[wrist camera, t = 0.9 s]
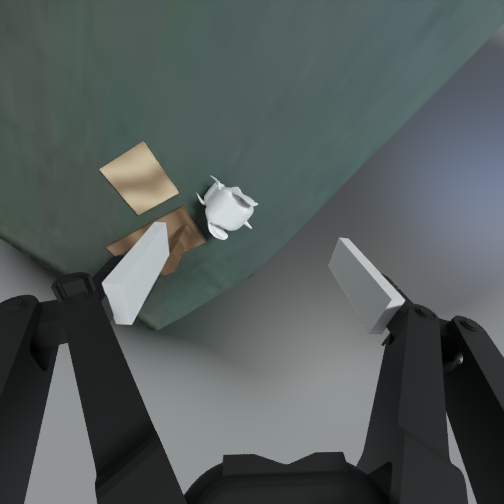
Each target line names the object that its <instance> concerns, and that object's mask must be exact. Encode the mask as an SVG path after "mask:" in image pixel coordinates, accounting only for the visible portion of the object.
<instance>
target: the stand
mask: <svg viewBox="0 0 504 504" xmlns="http://www.w3.org/2000/svg"><path fill="white" fill-rule="evenodd" d="M154 222H165V223H166V227H167V236H168V245H169V254H170V255H169V257H168V258H167V260H166V262H165V264H164V266H163V268H162V270H161V271H160V273H162V274H163V275H164V276H166V275H168V274H170V273H172V272H174V271H175V269H176V267H177V265H178V263H179V261H180V258H181V256H182V254H183V253H184V252H186V251H188V250H191V249H193V248H195V247H197V246H199V245H201V244H203V243H205V242H206V238H205V237H204V235H203V234H202V233H201V231H200V230H199V228H198V227H197V226H196V224H195V223H194V221H193V220H192V218H191V217H190V216H189V214H188V213H187V211H186V210H185V209H184V207H183V206H181V207H179V208H177V209H175V210H173V211H171V212H170V213H168V214H166V215H164V216H162V217H160V218H158V219H156V220H155V221H153V222H151V223H149V224H147V225H145V226H143V227H142V228H140V229H138V230H136V231H134V232H132V233H130V234H128V235H127V236H125V237H123V238H121V239H119V240H117V241H115V242H114V243H112V244H110V245H108V246H107V247H106V248H107V249H108V250H109V251H110V252H111V253H112V254H113V255H114V256H117V255H122V254H123V253H124V252H125V251H127V250H129V249H131V248H132V247H133V246H134V245H135V244H136V243H137V242H138V241H139V239H140V238H141V237H142V236H143V235H144V234H145V232H146V231H147V230H148V229H149V228H150V227H151V226H152V224H153V223H154ZM160 273H159V274H160Z"/></svg>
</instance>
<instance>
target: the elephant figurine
mask: <svg viewBox="0 0 504 504" xmlns="http://www.w3.org/2000/svg"><path fill="white" fill-rule="evenodd" d="M211 177H212V176H211ZM212 178H213V179H215V178H214V177H212ZM215 180H216V182H215V183H214V184H213V185H212V186H211V187H210V189H209V190H208V191H207V193H206V194H205V196H204V201H203V200H202V199H201V198H200V197H199V195H198V193H197V195H198V198H199V200H200V202H201V203H202V204H203V205H206V209H205V214H206V217H207V221H208V228H209V231H210V232H211V234H212V235H213V236H215V237H216V238H218V239H221V240H225V239H226V238H227V237H228V235H227V234H226V233H225V231H224V229H226V230H229V231H233V230H237V229H239V228H240V227H241V226H242V225H243V224H245V225H246V226H248V227H250V229H251V228H252V227H251V226H250V225H249V224H248V222H247V220H248V219H249V217H250V216H251V215H252V213H253V206H256V205H258V203H255V202H254V201H253V200H252V199H251V198H249V197H247V196H245V195H244V194H243V193H242V192H241V190H240V189H239V188H238V187H232V188H229V187H224V185H223V184H221V183H220V182H219V181H218V180H217V179H215ZM223 228H224V229H223Z"/></svg>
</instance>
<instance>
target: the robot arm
mask: <svg viewBox="0 0 504 504" xmlns="http://www.w3.org/2000/svg"><path fill="white" fill-rule="evenodd" d="M169 255H170V254H169V245H168V236H167V227H166V223H165V222H154V223H153V224H152V226H151V227H150V228H149V229H148V230H147V231H146V232H145V234H144V235H143V236H142V237H141V238H140V239H139V241H138V242H137V243H136V244H135V245H134V246H133V247H132V249H131V250H130V251H129V252H128V253H127V254H126V255H117V256H115V257H113V258H112V259H110V260H109V261H108V262H107V263H106V264H105V265H104V266H103V267H102V268H101V269H100V271H98V272H97V273H96V274H95V276H94V277H93V278H92V277H91V276H90V275H89V274H88V273H84V272H77V273H72V274H68V275H65V276H62V277H61V278H59V279H57V280H56V281H55V282H54V283H53V284H52V290H53V292H54V294H55V296H56V298H57V300H52V301H45V302H39V301H38V299H37V298H36V297H35V296H32V295H21V296H17V297H13V298H10V299H8V300H5V301H3V302H1V303H0V504H24V501H25V496H26V492H27V487H28V483H29V478H30V474H31V469H32V465H33V460H34V456H35V451H36V447H37V441H38V438H39V433H40V428H41V424H42V419H43V415H44V411H45V406H46V401H47V397H48V392H49V388H50V383H51V379H52V374H53V370H54V365H55V361H56V356H57V352H58V347H59V345H60V344H64V343H68V345H69V350H70V354H71V359H72V363H73V367H74V372H75V377H76V381H77V386H78V390H79V395H80V400H81V404H82V409H83V413H84V418H85V422H86V426H87V431H88V436H89V440H90V445H91V449H92V453H93V458H94V463H95V468H96V476H97V477H96V481H95V491H96V497H97V503H98V504H468V498H467V490H466V483H465V479H464V476H463V474H462V472H461V470H460V469H459V468H457V467H456V466H454V465H453V464H452V463H451V461H450V458H449V447H448V434H447V421H446V412H447V415H448V418H449V421H450V424H451V427H452V430H453V433H454V436H455V439H456V442H457V445H458V448H459V451H460V454H461V457H462V460H463V463H464V466H465V469H466V472H467V475H468V478H469V481H470V484H471V487H472V490H473V493H474V495H475V499H476V502H477V504H504V357H503V356H502V355H501V353H500V352H499V350H498V349H497V347H496V346H495V344H494V343H493V341H492V340H491V338H490V337H489V336H488V334H487V332H486V331H485V330H484V329H483V328H482V327H481V326H480V325H478V324H477V323H476V322H475V321H473V320H471V319H468V318H466V317H463V316H455V317H454V318H453V319H452V320H451V321H447V320H443V319H440V318H438V317H437V315H436V314H435V313H434V312H432V311H431V310H430V309H428V308H426V307H424V306H421V305H418V304H413V303H412V302H411V301H410V300H409V299H408V298H407V296H406V295H404V293H403V292H402V291H401V290H400V289H398V287H397V286H396V285H394V283H393V282H392V281H391V280H390V279H389V278H388V277H387V276H385V275H384V274H382V273H380V272H379V271H378V270H377V269H376V268H375V267H374V266H373V265H372V264H371V263H370V261H369V260H367V258H366V257H365V256H364V255H363V254H362V253H361V252H360V251H359V250H358V249H357V247H355V245H354V244H353V243H352V242H351V241H350V240H349V239H347V238H339V239H338V242H337V245H336V247H335V250H334V252H333V255H332V257H331V260H330V262H329V265H328V266H329V268H330V270H331V272H332V273H333V275H334V277H335V278H336V280H337V282H338V283H339V285H340V286H341V288H342V290H343V292H344V293H345V295H346V296H347V298H348V300H349V301H350V303H351V305H352V306H353V308H354V309H355V311H356V313H357V314H358V316H359V318H360V319H361V321H362V323H363V324H364V326H365V328H366V329H367V331H368V333H369V334H382V333H383V331H384V330H385V328H386V327H387V328H388V330H389V331H390V334H389V335H388V336H387V338H386V339H385V340H384V342H383V343H382V346H384V345H385V344H386V345H385V350H384V355H383V360H382V365H381V369H380V374H379V379H378V384H377V388H376V394H375V398H374V403H373V408H372V413H371V417H370V422H369V427H368V432H367V437H366V442H365V446H364V450H363V454H362V456H361V458H360V460H359V462H358V464H357V466H354V465H352V464H350V463H348V462H346V460H345V457H344V454H343V452H320V453H319V452H318V453H313V454H311V455H309V456H306V457H304V458H302V459H300V460H297V461H295V462H293V463H290V464H287V465H286V464H282V463H279V462H276V461H273V460H270V459H266V458H264V457H261V456H258V455H255V454H242V455H241V454H240V455H223V462H222V463H221V464H218V465H216V466H214V467H213V468H211V469H209V470H208V471H206V472H205V473H204V474H202V475H201V476H200V477H199V478H198V479H197V480H196V481H195V482H194V483H193V484H192V485H191V487H190V488H189V489H188V491H187V492H186V493H185V494H184V495H183V493H182V490H181V488H180V486H179V483H178V481H177V479H176V476H175V474H174V471H173V469H172V467H171V465H170V462H169V460H168V458H167V455H166V453H165V450H164V448H163V445H162V443H161V441H160V438H159V436H158V434H157V432H156V430H155V428H154V426H153V424H152V421H151V419H150V416H149V414H148V412H147V410H146V407H145V405H144V402H143V400H142V397H141V395H140V393H139V390H138V388H137V386H136V383H135V381H134V379H133V376H132V374H131V371H130V369H129V367H128V364H127V362H126V359H125V358H124V355H123V353H122V350H121V348H120V345H119V343H118V340H117V338H116V336H115V334H114V331H113V329H112V326H111V324H110V321H111V319H112V317H114V320H115V322H116V324H127V325H132V323H133V321H134V320H135V318H136V316H137V314H138V312H139V310H140V308H141V307H142V305H143V303H144V301H145V299H146V297H147V296H148V294H149V292H150V290H151V288H152V286H153V284H154V283H155V281H156V279H157V277H158V275H159V273H160V271H161V270H162V268H163V266H164V264H165V262H166V260H167V258H168V257H169ZM462 357H463V362H462V363H461V361H460V359H461V358H462Z"/></svg>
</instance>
